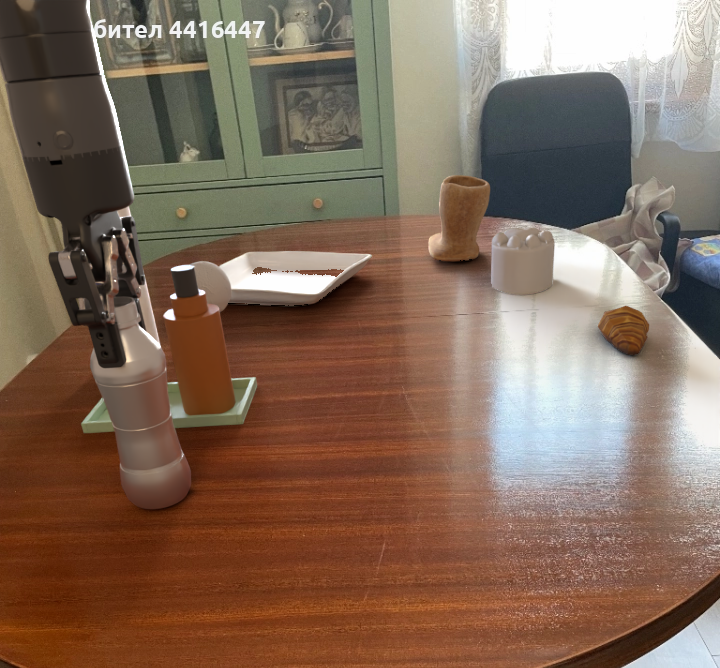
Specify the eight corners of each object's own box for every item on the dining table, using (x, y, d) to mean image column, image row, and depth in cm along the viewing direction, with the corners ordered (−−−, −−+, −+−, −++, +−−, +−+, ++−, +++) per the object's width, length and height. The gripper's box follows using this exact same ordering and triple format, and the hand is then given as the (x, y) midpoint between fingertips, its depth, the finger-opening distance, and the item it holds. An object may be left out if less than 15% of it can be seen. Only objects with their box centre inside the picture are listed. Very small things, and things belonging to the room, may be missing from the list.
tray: (84, 436, 86) (80, 423, 85) (114, 397, 96) (111, 385, 95) (243, 427, 85) (241, 414, 84) (257, 388, 95) (255, 376, 94)
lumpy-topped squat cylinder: (549, 272, 131) (552, 222, 126) (555, 293, 120) (559, 239, 115) (490, 274, 132) (491, 225, 128) (491, 295, 121) (492, 242, 117)
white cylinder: (236, 357, 106) (217, 252, 98) (251, 372, 100) (233, 262, 92) (188, 368, 103) (165, 261, 96) (200, 384, 98) (178, 272, 90)
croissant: (587, 325, 105) (590, 291, 103) (636, 323, 105) (640, 289, 102) (605, 360, 94) (608, 323, 91) (659, 358, 93) (665, 320, 91)
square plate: (320, 315, 119) (318, 291, 117) (179, 309, 129) (174, 287, 127) (374, 270, 141) (373, 250, 139) (250, 268, 150) (247, 249, 148)
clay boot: (490, 264, 138) (492, 180, 131) (428, 267, 140) (426, 184, 132) (486, 245, 151) (487, 168, 144) (428, 248, 153) (426, 172, 145)
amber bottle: (178, 418, 87) (146, 277, 79) (190, 396, 93) (161, 262, 84) (230, 415, 87) (204, 273, 78) (239, 393, 93) (216, 258, 84)
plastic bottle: (141, 483, 75) (90, 293, 65) (204, 482, 75) (162, 289, 64) (117, 518, 70) (57, 316, 60) (185, 517, 69) (136, 313, 59)
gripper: (60, 139, 62) (110, 329, 71) (-20, 162, 50) (52, 388, 58) (146, 132, 62) (185, 323, 70) (86, 153, 49) (143, 382, 58)
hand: (124, 352), depth 64 cm, fingers closed on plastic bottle, 5 cm apart
